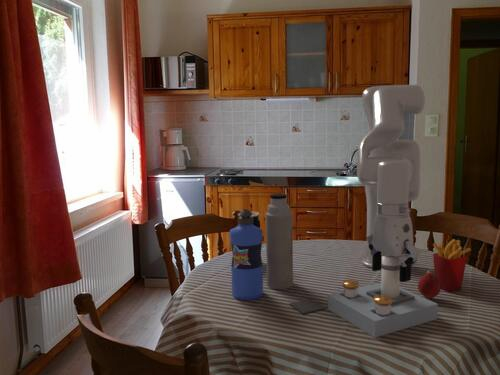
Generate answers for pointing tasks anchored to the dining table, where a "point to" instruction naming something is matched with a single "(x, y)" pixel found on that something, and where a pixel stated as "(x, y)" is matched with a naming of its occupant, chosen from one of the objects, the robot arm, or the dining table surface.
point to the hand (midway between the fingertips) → (390, 275)
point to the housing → (402, 316)
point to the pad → (307, 306)
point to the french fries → (450, 265)
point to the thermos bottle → (279, 243)
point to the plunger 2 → (382, 305)
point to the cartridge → (390, 276)
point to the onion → (429, 286)
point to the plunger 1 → (350, 289)
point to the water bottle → (246, 258)
